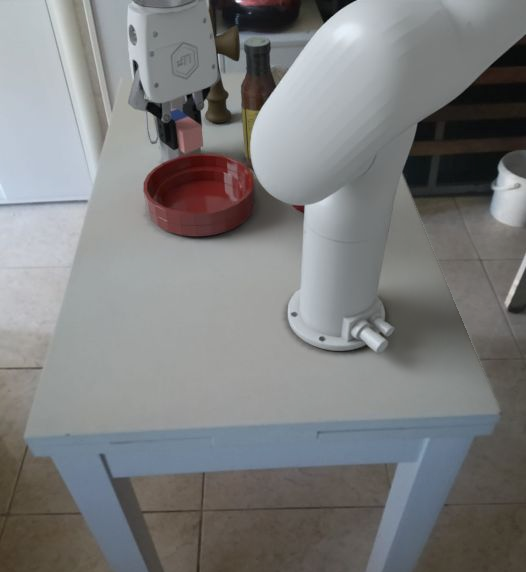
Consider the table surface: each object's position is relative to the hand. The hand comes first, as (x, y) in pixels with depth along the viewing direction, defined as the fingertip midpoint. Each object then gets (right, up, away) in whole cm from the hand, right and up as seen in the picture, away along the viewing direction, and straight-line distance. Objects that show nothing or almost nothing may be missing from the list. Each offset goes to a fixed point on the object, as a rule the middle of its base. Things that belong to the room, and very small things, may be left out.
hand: (181, 139), depth 77 cm
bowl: (+1, -5, +15) cm, 16 cm away
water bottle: (-4, +5, +24) cm, 25 cm away
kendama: (+2, +17, +35) cm, 39 cm away
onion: (+18, -7, +13) cm, 23 cm away
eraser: (0, 0, 0) cm, 0 cm away
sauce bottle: (+11, +5, +24) cm, 27 cm away
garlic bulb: (+14, +19, +36) cm, 43 cm away
